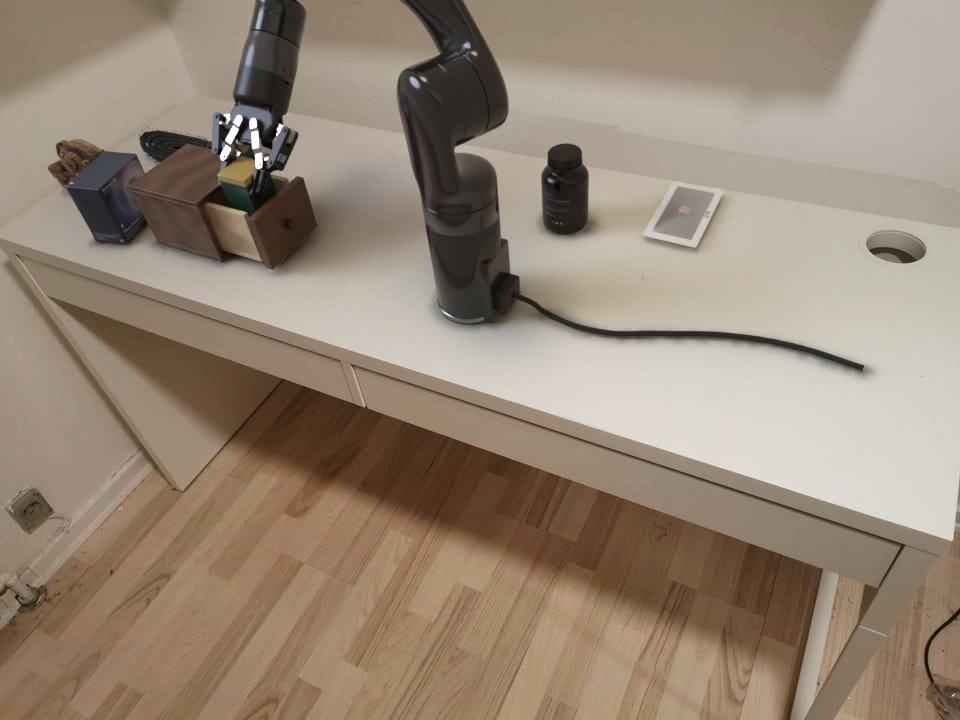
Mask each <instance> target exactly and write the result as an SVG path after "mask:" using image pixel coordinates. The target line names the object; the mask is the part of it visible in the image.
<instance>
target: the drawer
mask: <svg viewBox="0 0 960 720" xmlns="http://www.w3.org/2000/svg"><path fill="white" fill-rule="evenodd" d="M270 174H271V177H272V180H273V183H274V186H275V189H276V192H277V194H276V195H274V196H273V197H272V198H271V199H270V200H269V201H268V202H266V203H265V204H264V205H263V206H262V207H261V208H259V209H258V210H257V211H256V212H255V213H254V214H252V215H251V216H250V217H249V216H248V213H247V212H244V211H240V210H236V209H232V208H230V206H229V203H228V201H227V198H226V196H225V194H224V191H223V189H221V190H220V191H219V192H218V193H216V194H215V195H214V196H213V197H211V198H210V199H209V200H208V201H206V202H205V203H204V204H203V205H202V207H203V209H204V212H205V214H206V216H207V218H208V221H209V223H210V225H211V228H212V230H213V232H214V234H215V237H216V239H217V241H218V243H219V246H220V248H221V250H223V251H227V252H230V253H232V254H234V255H237V256H240V257H244V258H247V259H251V260H254V261H257V262H261V263H262V262H263V263H264V265H265V267H266V269H267V270H271V271H274V270H275V269H276V268H277V267H278V266H279V264H281V263H282V262H283V261H284V260H285V259H286V258H287V257H288V256H289V255H291V254H292V252H294V251H295V250H296V248H298V247H299V246H300V245H301V244H302V243H303V242H304V241H305V240H306V239H307V238H308V237H309V236H310V235H312V233H313V232H314V231H316V230H317V228H319V225H318V222H317V218H316V214H315V211H314V208H313V205H312V202H311V201H312V200H311V199H310V195H309V192H308V188H307V186H306V182H305V178H304V177H303V176H299V175H296V176H295V177H294V178H293V179H292V180H291V181H289V179H288V177H285V176H281V175H276V174H272V173H270Z"/></svg>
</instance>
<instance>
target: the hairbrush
mask: <svg viewBox="0 0 960 720" xmlns="http://www.w3.org/2000/svg"><path fill="white" fill-rule="evenodd" d="M147 130H149V131H146V129H145V128H143V130H141V131H140V132H141V133H142V134H141V133H139V134H138V137H139V138H138V139H139V146H140V147H141V149H142V152H144V153H145V154H147V155H148V156H150V157H151V158H152V159H153V160H155V161H159V162H162V161H163V160H165V159H166V158H168V157H169V156H170V155H172V154H173V153H175V152H176V151H177V150H179V149H180V148H182V147H183V146H185V145H186V144H191V145H195V146H200V147H204V148H209V149H212V141H211V140H210V141H209V140H208V138H206V137H204V136H201V135H199V136H197V137H196V136H195V137H194V136H192V135H189V133H188V132H186V134H185V132H182V131H180V133H178V132H177V131H175V132H173V130H172V129H171V131H168V129H166V130H163V128H162V129H161V130H159V129H156V130H155V129H154V127H152V130H150V127H147ZM182 133H183V134H182ZM237 142H238V141H237ZM238 143H241V142H238ZM221 148H222V141H221ZM234 150H235V149H234ZM234 150H233V152H234ZM233 152H232V154H233ZM242 156H244V157H249V158H253V160H255V153H254V152H253V150H252V146H250V147H249V149H248V151H247V152H245V153H243V155H242Z"/></svg>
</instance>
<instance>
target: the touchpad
mask: <svg viewBox="0 0 960 720" xmlns="http://www.w3.org/2000/svg"><path fill="white" fill-rule="evenodd" d="M724 192H725V190H722V189H717V188H712V187H707V186H703V185H702V186H701V185H697V184H691V183H686V182H681V181H676V180H672V182H671V184H670V185H669V187H668V188H667V190H666V192H665V194H664V196H663V198H662V199H661V201H660V202H659V204H658V206H657V208H656V209H655V212H654V213H653V215H652V217H651V218H650V220H649V222H648V223H647V225H646V227H645V228H644V230H643V232H642V234H641V236H642V237H646V238H649V239H655V240H660V241H664V242H668V243H673V244H677V245H681V246H685V247H689V248H695V249H697V246H698V245H699V242H700V240H701V239H702V236H703V235H704V232H705V230H706V229H707V227H708V224H709V223H710V220H711V218H712V217H713V215H714V213H715V210H716V208H717V206H718V205H719V203H720V200H721V198H722V196H723V194H724Z"/></svg>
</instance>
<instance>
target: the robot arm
mask: <svg viewBox="0 0 960 720" xmlns="http://www.w3.org/2000/svg"><path fill="white" fill-rule="evenodd" d="M398 2H400V3H401V4H402V5H404V6H405V7H406V8H407V9H408V10H409V11H410V12H411V13H412V15H414V16H415V18H416V19H418V21H419V22H420V23H421V25H422V26H423V27H424V29H425V31H426V32H427V33H428V35H429V37H430V39H431V40H432V42H433V43H434V45H435V47H436V49H437V51H438V53H439V54H437V55H434V56H432V57H429V58H426V59H424V60H421V61H420V62H417V63H416V62H415V63H413V64H412V65H409V66H407V67H405V68H404V69H402V70H401V72H400V73H399V75H398V78H397V81H396V101H397V102H396V103H397V108H398V113H399V117H400V122H401V125H402V129H403V133H404V138H405V142H406V146H407V151H408V156H409V161H410V165H411V170H412V172H413V176H414V178H415V182H416V184H417V187H418V191H419V195H420V200H421V207H422V213H423V219H424V225H425V232H426V237H427V243H428V249H429V256H430V262H431V268H432V272H433V279H434V285H435V290H436V296H437V299H436V300H437V307H438V309H439V312H440V313H441V314H442V315H443V316H444V317H445V318H446V319H448V320H449V321H451V322H454V323H458V324H464V325H475V324H481V323H489V324H493V323H494V322H495V321H496V319H497V318H498V316H499V315H500V313H505V314H507V313H508V312H509V311H510V309H511V308H512V306H513V305H514V304H515V302H516V300H518V301H520V302H522V303H525V304H528V305H529V306H531V307H532V308H533V309H535V310H537V312H539V313H540V314H542V315H544V316H545V317H547V318H549V319H551V320H553V321H554V322H555V321H556V322H558V323H560V324H562V325H564V326H567V327H568V328H572V329H575V330H577V331H578V330H579V331H582V332H586V333H591V334H596V335H600V336H607V337H619V338H620V337H623V338H624V337H625V338H626V337H630V338H631V337H673V338H675V337H677V338H679V337H682V338H683V337H686V338H687V337H689V338H691V337H692V338H693V337H695V338H696V337H697V338H718V339H719V338H721V339H729V340H741V341H749V342H756V343H762V344H767V345H773V346H777V347H781V348H782V347H783V348H786V349H791V350H795V351H799V352H802V353H807V354H810V355H813V356H816V357H819V358H823V359H825V360H829V361H831V362H834V363H837V364H840V365H842V366H846V367H849V368H852V369H854V370H858V371H860V372H863V370H864V368H865V365H864V364H862V363H858V362H855V361H852V360H850V359H846V358H844V357H841V356H838V355H834V354H832V353H828V352H826V351H823V350H819V349H818V348H817V349H816V348H813V347H811V346H806V345H802V344H798V343H794V342H790V341H786V340H782V339H776V338H771V337H765V336H760V335H753V334H744V333H738V332H737V333H736V332H728V331H727V332H726V331H713V330H712V331H711V330H610V329H603V328H597V327H592V326H589V325H584V324H580V323H577V322H574V321H571V320H568V319H566V318H564V317H562V316H559V315H558V314H555V313H553V312H551V311H550V310H549V309H546V308H545V307H543V306H542V305H541V304H540V303H538V302H537V301H535V300H534V299H532V298H530V297H527V296H525V295H522V294H521V281H520V275H517V274H514V273H511V261H510V247H509V240H508V239H507V238H503V237H502V228H501V227H502V226H501V214H500V201H499V185H498V175H497V171H496V169H495V166H494V165H493V164H492V162H490V161H489V160H487V159H486V158H485V157H482V156H480V155H477V154H474V153H470V152H455V149H456V148H457V147H458V146H462V145H464V144H465V143H468V142H470V141H472V140H474V139H477V138H479V137H482V136H483V135H486V134H488V133H491V132H493V131H494V130H497V129H499V128H500V127H502V126H503V124H505V123H506V121H507V118H508V115H509V111H510V101H509V94H508V89H507V86H506V83H505V79H504V75H503V74H502V71H501V69H500V66H499V65H498V62H497V60H496V58H495V56H494V53H493V52H492V50H491V48H490V46H489V45H488V43H487V41H486V39H485V37H484V35H483V33H482V31H481V30H480V28H479V26H478V24H477V22H476V21H475V18H474V17H473V15H472V13H471V11H470V10H469V7H468V6H467V4H466V2H465V1H464V0H398ZM251 16H252V17H251V19H250V20H251V21H250V25H249V29H248V33H247V36H246V39H245V42H244V44H243V48H242V51H241V56H240V59H239V65H238V69H237V74H236V79H235V83H234V87H233V92H232V97H233V99H234V105H233V108H232V110H231V111H230V112H229V113H221V112H218V111H215V112H214V113H213V115H212V129H211V131H212V133H211V142H212V153H213V154H216V155H217V156H218V157H220V159H221V166H220V171H219V172H221V171H222V170H223V169H224V168H226V167H227V166H228V165H230V164H231V163H232V162H233V161H235V160H236V159H237V158H239V157H241V156H242V155H243V153H245V152H247V151H248V149H249V147H250V146H252V150H253V152H254V153H255V164H256V168H257V169H254V170H253V175H252V179H251V183H250V188H249V195H250V196H253V197H256V198H262V196H263V195H264V194H265V192H266V188H267V184H268V180H269V175H270V174H272V173H273V172H276V171H279V172H283V171H284V170H285V168H286V166H287V163H288V161H289V159H290V156H291V155H292V152H293V150H294V147H295V146H296V143H297V142H298V138H299V136H300V135H299V132H298V131H296V130H295V129H293V128H291V127H289V126H287V125H285V124H284V116H285V115H287V113H288V111H289V107H290V102H291V98H292V95H293V94H292V93H293V89H294V86H295V82H296V77H297V72H298V68H299V57H300V52H301V47H302V42H303V38H304V33H305V29H306V26H307V22H308V21H307V20H308V11H307V9H306V7H305V5H304V4H303V3H301V2H300V1H299V0H254V6H253V11H252V15H251ZM221 141H222V148H221ZM238 142H241V143H238ZM234 149H235V150H234ZM233 150H234V152H233ZM232 152H233V153H232ZM218 186H219V188H222V186H221V184H220V181H219V179H218Z"/></svg>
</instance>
